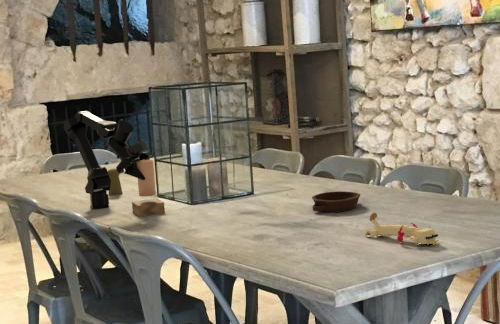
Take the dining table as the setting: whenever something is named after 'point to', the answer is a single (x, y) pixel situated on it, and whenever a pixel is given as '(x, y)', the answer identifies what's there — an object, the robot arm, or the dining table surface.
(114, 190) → the olive chess pawn
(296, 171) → the dining table surface
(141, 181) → the salmon pink block
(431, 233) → the cat figure
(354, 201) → the dish
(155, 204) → the walnut riser
